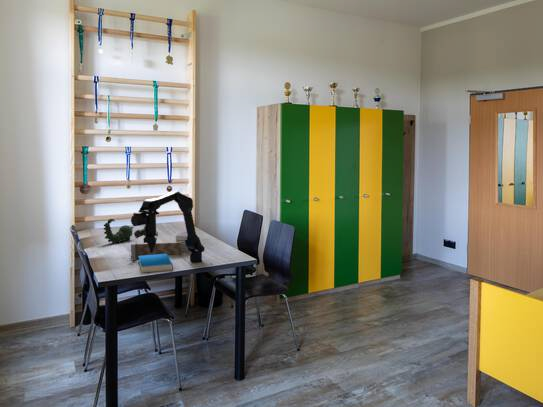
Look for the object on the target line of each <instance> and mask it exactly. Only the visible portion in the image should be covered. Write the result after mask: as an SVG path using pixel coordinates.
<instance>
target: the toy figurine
mask: <svg viewBox="0 0 543 407" xmlns="http://www.w3.org/2000/svg"><path fill="white" fill-rule="evenodd" d="M115 221H116V220H115V219H114V218H110V219H108V220H107V222H105V223H104V224H103V227H104V228H103V230H104V232H103V233H104V235H106V236H104V239H107V242H108V243H118V244H120V243H121V242H125V241H131V237H132V236H133V229H134V227H135V226H130V225H127V224H126V225H125V224H124V225H122V226H121V227H119V229H118V231H117V232H116V233H114V232H113V231H112V226H111V224H112V222H115Z"/></svg>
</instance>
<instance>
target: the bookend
mask: <svg viewBox="0 0 543 407" xmlns="http://www.w3.org/2000/svg"><path fill="white" fill-rule="evenodd" d="M131 244H132V257H131V262H136V261H137V259H138V257H137V244H138V241H136V240H134V241H132V242H131Z"/></svg>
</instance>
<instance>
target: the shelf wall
mask: <svg viewBox="0 0 543 407" xmlns="http://www.w3.org/2000/svg"><path fill="white" fill-rule="evenodd" d="M130 252H131V253H130V254H131V255H130V257H131V258H132V243H130ZM156 254H167V255H168V257H169V256H170V257H171V256H182V253H181V242H176V241H173V242H172V241H171V242H168V241H166V242H156V244H155V247H154V250H153V253H150V249H149V246H148V243H144V242H142V243H137V258H139V257H138V256H143V255H156Z"/></svg>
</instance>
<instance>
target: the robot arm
mask: <svg viewBox="0 0 543 407" xmlns="http://www.w3.org/2000/svg"><path fill="white" fill-rule="evenodd" d="M173 201H174V202H175V203H176V204H177V206H178V208H179V210H180V212H182V214H183V220H184V225H185V230H186V232H187V238H186V239H185V243H186V245H185V246H187V248H188V251H191V252H190V253H189V261H190V262H191V263H203V252H205V246H204V245H203V244H202V242H201V239H200V237H199V236H198V234H197V231H196V228H195V223H194V217H193V212H192V211H193V208H194V199H193V198H191V197H190V196H189V197H188V195H185V194H183V193H181V192H180V191H174V190H173V191H171V192H169V193H166V194H164V195H162V196H159V197H156V198H148V199H144V200H143V201H142V204H141V206H140V209H139V210H138V212H133V215H131V218H130V223H131V225H132V227H138V226H144V227H143V228H141V229H140V228H139V229H137V230H135V231H134V232H133V234H134V237H135V239H139V238H140V237H143V236H144V237H143V243H148V246H149V249H150V253H153V250H154V247H155V244H156V243H157V242H158V238H157V237H159V232H158V231H157V216H156V215H160V212H158V211H157V210H158V209H160V208H161V207H162V206H163V205H165V204H168V203H171V202H173Z"/></svg>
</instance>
